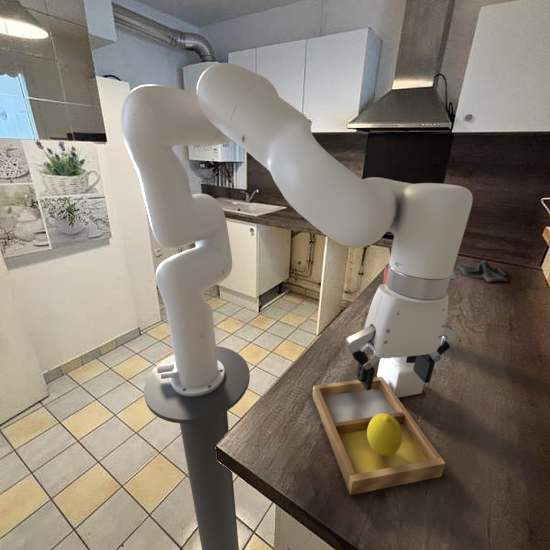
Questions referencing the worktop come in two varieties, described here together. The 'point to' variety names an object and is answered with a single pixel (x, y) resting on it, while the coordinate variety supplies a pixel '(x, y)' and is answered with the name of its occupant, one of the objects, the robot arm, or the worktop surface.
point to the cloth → (483, 271)
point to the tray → (354, 443)
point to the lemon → (384, 434)
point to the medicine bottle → (400, 375)
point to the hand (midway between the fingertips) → (392, 379)
